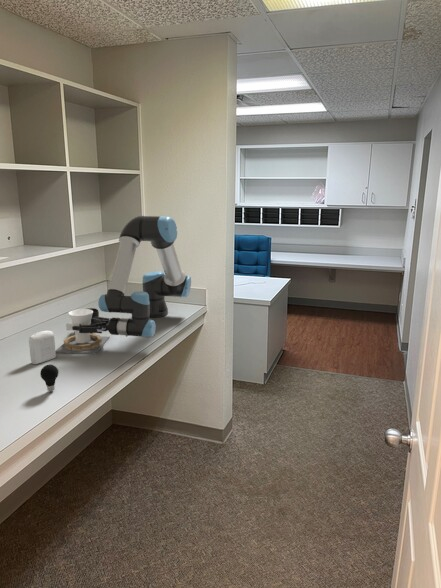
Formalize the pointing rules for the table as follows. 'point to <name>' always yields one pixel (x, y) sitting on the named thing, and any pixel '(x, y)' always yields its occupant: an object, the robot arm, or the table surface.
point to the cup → (81, 318)
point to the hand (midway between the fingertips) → (72, 323)
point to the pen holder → (94, 313)
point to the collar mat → (89, 351)
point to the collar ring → (85, 346)
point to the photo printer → (42, 347)
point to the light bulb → (49, 376)
